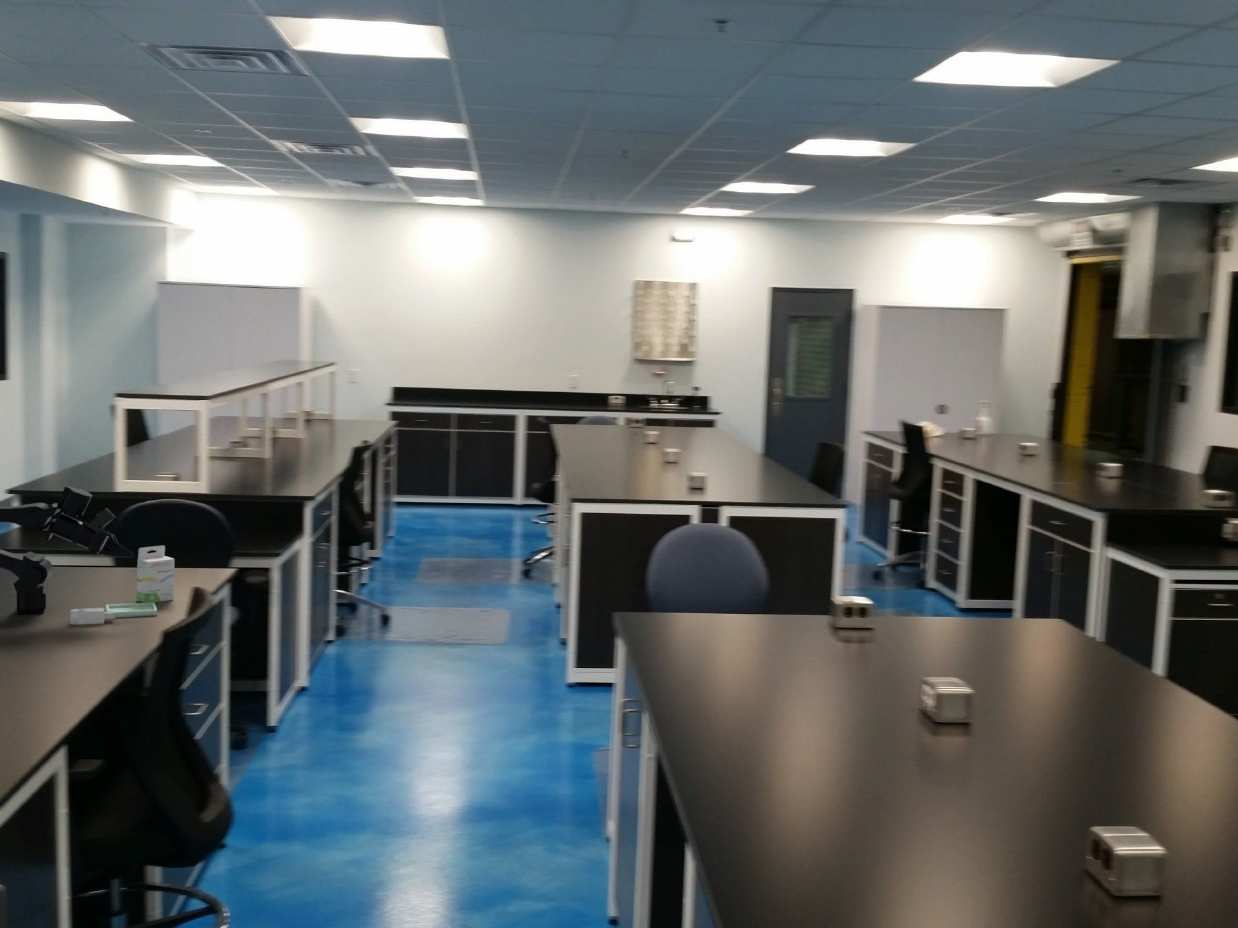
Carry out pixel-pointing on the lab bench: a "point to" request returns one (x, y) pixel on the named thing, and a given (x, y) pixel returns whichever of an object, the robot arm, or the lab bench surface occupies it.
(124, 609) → the tray
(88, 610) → the connector
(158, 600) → the ink box
